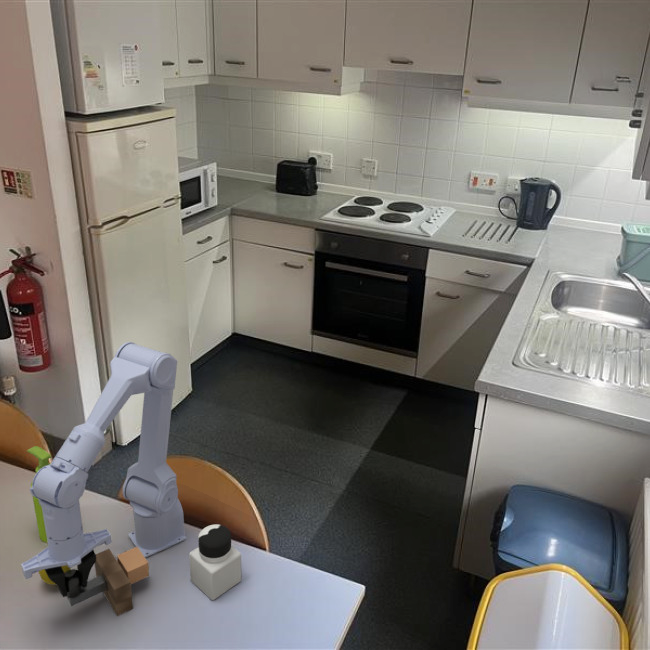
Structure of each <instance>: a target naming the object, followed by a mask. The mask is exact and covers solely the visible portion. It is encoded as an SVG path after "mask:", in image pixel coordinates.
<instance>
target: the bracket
mask: <svg viewBox="0 0 650 650" xmlns="http://www.w3.org/2000/svg"><path fill="white" fill-rule="evenodd" d="M95 554H96V562H95V563H94V570H95V576H96V577H98V576H101V575H103V576H104V578H105V579H106V581H107V587H108V590H106V591H104V592H102V593H103V594H104V596H105V598H106V599H107V601H108V603H109V605H110V606H111V608H112V610H113V612H114V613H115V615H116V616H117V617H119V616H120V615H123V614H125V613H127V612H129V611H131V610H132V609H134V605H133V593H132V584H131V582H130V581H129V579H128V577H127V576H126V574H125V573H124V571H123V569H122V568H121V566H120V565H119V563H118V561H117V559H116V558H117V557H115V556H114V553H113V552H112V551H111V548H107V549H105V550H103V551H100V552H98V553H95ZM96 577H95V578H96Z"/></svg>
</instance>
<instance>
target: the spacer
mask: <svg viewBox="0 0 650 650" xmlns="http://www.w3.org/2000/svg"><path fill="white" fill-rule="evenodd" d="M116 558H117V559H116V560H117V562H118V563H119V565H120V566H121V568H122V569H123V571H124V572H125V574H126V576H127V577H128V579H129V581H130V582H131V585H132V584H135V583H137V582H140V581H141V580H144V579H145V578H148V577H149V576H150V575H149V574H150V572H149V571H150V570H148V569H150V566H149V565H150V564H149V561H148V560H147V559H146V558H147V557H146V558H145V557H144V556H143V554H142V553H141V551H140V550H139V548H138V547H135V546H134V547H133V548H131V549H128V550H126V551H123V552H122V553H119V554H117V555H116Z"/></svg>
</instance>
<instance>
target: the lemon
mask: <svg viewBox="0 0 650 650" xmlns="http://www.w3.org/2000/svg"><path fill="white" fill-rule="evenodd" d="M62 569H63V571H64V573H65V572H67V571H68V570H71V568H69V567H68V565H64V566H62ZM38 574H39V576H40V577H39V578H40V579H41V581H43V582H44V583H45V584H48V585H56V584H55V583H54V582H52V581H51V580H50V579H49V577H48V575H47V573H46V571H45V569H43V570H40V571H38Z"/></svg>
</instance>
